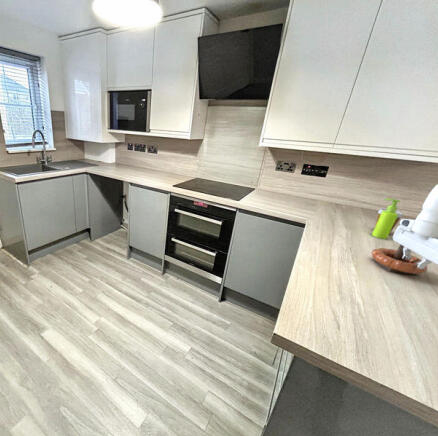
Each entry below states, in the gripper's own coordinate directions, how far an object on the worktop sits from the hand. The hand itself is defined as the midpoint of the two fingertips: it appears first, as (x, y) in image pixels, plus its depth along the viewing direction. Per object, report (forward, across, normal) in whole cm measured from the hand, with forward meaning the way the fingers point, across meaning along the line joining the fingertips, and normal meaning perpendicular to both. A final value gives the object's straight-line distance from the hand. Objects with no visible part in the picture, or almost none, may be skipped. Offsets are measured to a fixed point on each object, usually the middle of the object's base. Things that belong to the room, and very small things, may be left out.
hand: (412, 263), depth 86 cm
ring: (+2, +6, 0) cm, 6 cm away
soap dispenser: (+5, +41, -17) cm, 45 cm away
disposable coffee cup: (+5, +49, -24) cm, 55 cm away
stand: (+5, +6, 0) cm, 8 cm away
